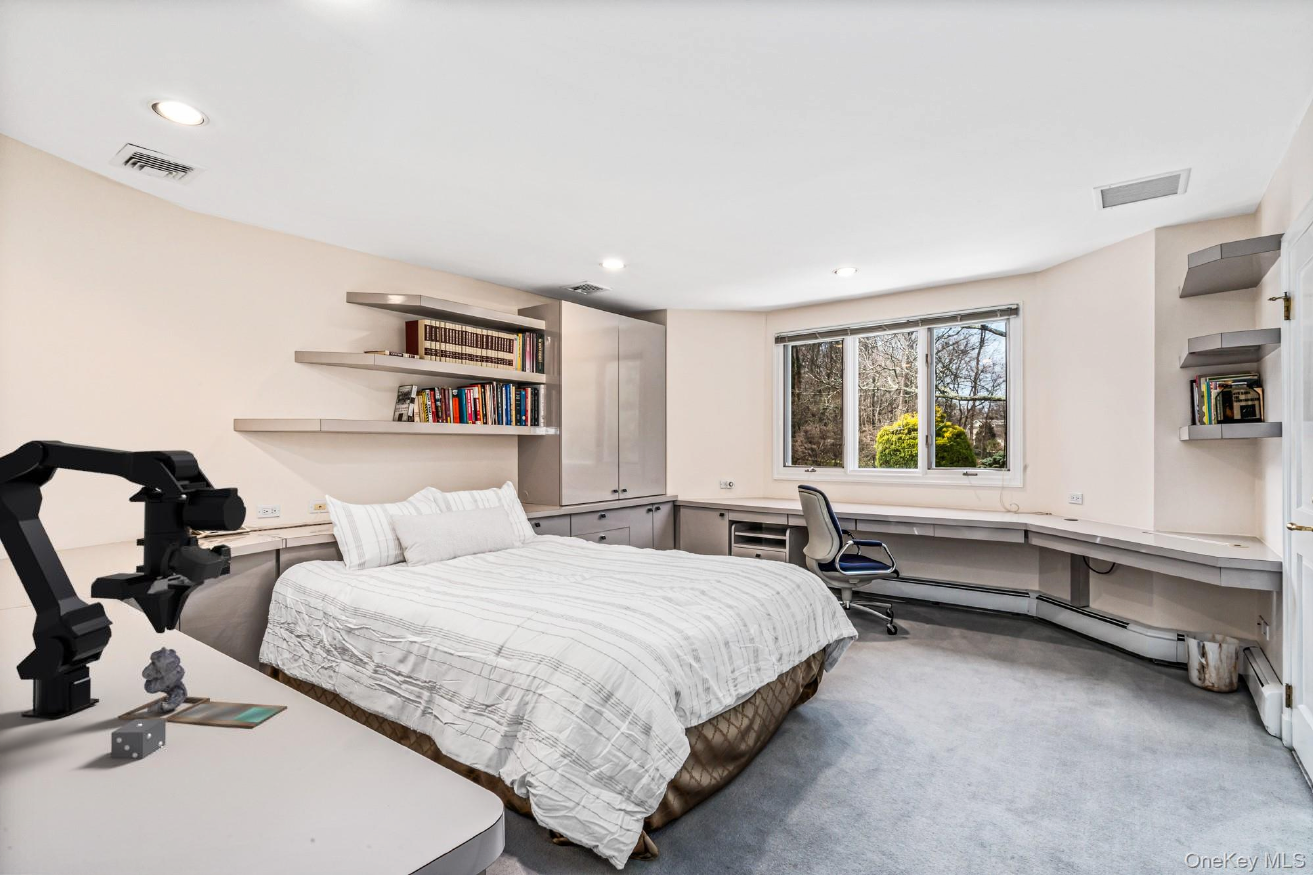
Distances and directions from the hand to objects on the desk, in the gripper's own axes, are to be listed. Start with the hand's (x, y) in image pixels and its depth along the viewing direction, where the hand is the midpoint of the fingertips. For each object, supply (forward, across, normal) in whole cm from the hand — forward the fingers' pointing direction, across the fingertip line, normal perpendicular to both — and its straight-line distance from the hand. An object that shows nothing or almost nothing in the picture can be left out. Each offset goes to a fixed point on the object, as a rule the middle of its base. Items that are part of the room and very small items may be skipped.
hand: (165, 631), depth 98 cm
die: (+12, -12, -9) cm, 20 cm away
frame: (+12, 0, 0) cm, 12 cm away
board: (+12, 0, -11) cm, 16 cm away
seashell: (+13, 0, 0) cm, 13 cm away
